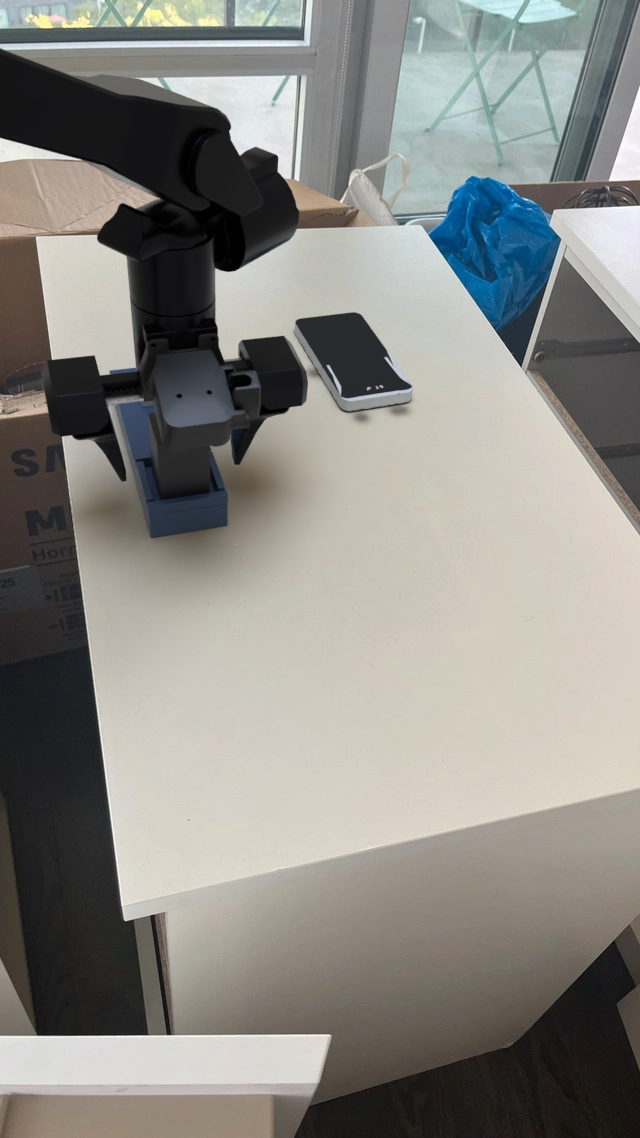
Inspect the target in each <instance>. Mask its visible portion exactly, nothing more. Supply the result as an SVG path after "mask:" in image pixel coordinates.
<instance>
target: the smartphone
mask: <svg viewBox="0 0 640 1138" xmlns="http://www.w3.org/2000/svg"><path fill="white" fill-rule="evenodd" d="M294 334H295V336H296V338H297V340H298V341H299V343H300V345H301V346H302V348H303V349H304V351H305V353H306V354H307V356H308V358H309V359H310V361H311V362H312V364H313V366H314V368H315V370H316V371H317V373H319V375H320V378H321V379H322V381H323V382H324V384H325V385H326V387H327V390H329V392H330V394H331V396H332V397H333V399H334V400H335V402H336V404H337V405H338V407H339V408H340V409H341V410H342V411H345V412H355V411H362V410H367V409H368V410H369V409H373V408H381V407H387V406H393V405H399V404H405V403H406V404H407V403H409V402H411V401H412V398H413V397H412V396H413V392H414V386H413V384H412V383H411V382H410V381H409V379H408V378H407V376H406V375H405V373H404V371H403V370H402V369H401V368H400V366H399V365H398V363H397V362H396V361H395V359H394V358H393V357H392V355H391V354H390V352H389V351H388V350H387V348H386V346H384V344H383V343H382V341H381V340H380V338H379V337H378V336H377V335H376V333H375V331H373V328H372V327H371V326H370V324H369V323H368V322H367V320H366V319H365V318H364V316H363V315H362V314H361V313H359V312H353V311H352V312H344V313H343V312H342V313H334V314H325V315H318V316H317V315H316V316H310V317H301V318H298V319H296V320H295V323H294Z"/></svg>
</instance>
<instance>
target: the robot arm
mask: <svg viewBox="0 0 640 1138" xmlns="http://www.w3.org/2000/svg"><path fill="white" fill-rule="evenodd" d="M231 129H232V124H231V121H230V119H229V117H228V116H227V114H225V113H224V112H222V110H220V109H219V108H217V107H214V106H212V105H208V104H206V103H204V102H201V101H199V100H196V99H193V98H190V97H188V96H185V95H182V94H180V93H178V92H175V91H172V90H170V89H167V88H164V87H162V86H160V85H157V84H154V83H152V82H149V81H146V80H143V79H140V78H137V77H127V76H118V75H111V74H102V73H101V74H97V75H93V76H82V75H75V74H70V73H68V72H65V71H62V70H60V69H56V68H54V67H51V66H49V65H46V64H43V63H41V62H39V61H35V60H33V59H31V58H27V57H25V56H22V55H20V54H17V53H14V52H12V51H10V50H8V49H4V48H2V47H0V139H2V140H6V141H9V142H13V143H18V144H21V145H25V146H28V147H32V148H35V149H39V150H43V151H47V152H50V153H55V154H57V155H62V156H66V157H69V158H72V159H76V160H77V159H78V160H80V161H82V162H84V163H86V164H87V165H89V166H91V167H93V168H95V169H97V170H98V171H100V172H102V173H104V174H105V175H107V176H109V177H111V178H113V179H115V180H116V181H119V182H121V183H124V184H126V185H127V186H131V187H132V188H135V189H137V190H139V191H142V192H144V193H146V194H148V195H151V196H153V197H156V198H157V199H154V200H151V201H150V202H147V203H145V204H143V205H140V206H139V207H136V208H135V207H133V206H131V205H129V204H127V203H125V202H121V203H120V204H118V206H117V208H116V212H115V213H114V215H112V216H111V217H110V218H109V219H108V220H107V221H105V222H104V223H103V225H102V226H101V228H100V229H99V231H98V233H97V235H96V240H97V242H98V243H99V244H100V245H102V246H104V247H106V248H109V249H110V250H113V251H115V252H117V253H118V254H121V255H123V256H124V257H126V268H127V276H128V277H127V280H128V291H129V301H130V302H129V303H130V314H131V326H132V338H133V350H134V361H135V363H134V364H135V368H136V372H127V373H118V374H110V373H109V374H100V370H99V367H98V363H97V358H96V355H95V354H94V355H86V356H85V355H83V356H74V357H65V358H55V359H49V360H48V359H47V360H46V361H45V363H44V364H43V365H42V367H41V368H40V375H41V380H42V385H43V391H44V396H45V397H44V398H45V402H46V407H47V413H48V418H49V424H50V430H51V433H52V434H54V435H56V436H59V437H69V436H72V438H73V439H74V440H75V441H91V442H94V443H95V444H96V446H97V447H99V449H100V450H101V452H103V454H104V455H105V457H106V459H107V461H108V462H109V464H110V465H111V467H112V469H113V470H114V471H115V473H116V475H117V477H118V478H119V480H120V482H121V483H123V482H127V481H128V480H127V470H126V465H125V462H124V458H123V454H122V451H121V447H120V443H119V439H118V436H117V433H116V429H115V426H114V422H113V418H112V415H111V412H110V409H109V407H110V406H115V405H117V404H125V403H134V402H142V401H144V402H146V401H153V405H154V409H155V414H156V418H157V422H158V426H159V431H160V437H161V441H162V444H163V445H164V447H165V448H167V449H168V450H170V451H173V452H181V451H186V450H187V449H192V448H199V447H207V446H210V447H213V448H216V447H221V446H224V445H226V444H227V443H228V442H229V441H230V448H231V458H232V461H233V464H234V466H240V465H241V463H242V462H243V460H244V458H245V456H246V454H247V452H248V449H249V448H250V446H251V445H252V442H253V440H254V438H255V436H256V434H257V433H258V431H259V429H260V428H261V426H262V425H263V424H264V422H265V421H266V420H267V419H269V418H272V417H275V416H279V415H280V416H281V415H284V414H286V413H288V411H289V410H290V408H295V407H296V408H297V407H302V406H304V404H305V403H306V402H307V399H308V398H307V397H308V387H309V380H308V374H307V370H306V369H305V367H304V365H303V362H302V361H301V359H300V357H299V355H298V353H297V351H296V349H295V348H294V345H293V344H292V342H291V341H290V339H288V338H287V337H286V336H285V335H279V336H278V335H276V336H267V337H257V338H249V339H247V338H246V339H241V340H240V341H239V342H238V345H237V347H238V349H237V352H238V353H237V355H238V357H236V358H228V359H224V356H223V354H222V352H221V348H220V338H219V327H218V324H217V322H216V321H217V320H216V318H217V317H216V316H217V315H216V312H217V311H216V309H217V308H216V305H217V303H216V302H217V301H216V270H218V271H221V272H226V273H231V272H232V273H233V272H236V271H238V270H240V269H242V268H244V267H245V266H247V265H249V264H251V263H252V262H255V261H256V260H258V259H259V258H261V257H263V256H265V255H266V254H269V253H271V252H272V251H273V250H275V249H277V248H279V247H281V246H283V245H284V244H286V243H288V242H290V240H291V239H292V238H293V237H294V236H295V233H296V232H297V230H298V227H299V221H300V209H299V208H298V206H297V202H296V201H297V200H296V198H295V195H294V193H293V190H292V189H291V187H290V185H289V183H288V181H287V180H286V179H285V178H284V176H282V174H281V173H279V156H278V155H277V154H276V153H273V152H270V151H268V150H266V149H264V148H261V147H258V146H253V147H252V148H249V149H247V150H245V151H243V152H242V153H241V154H239V151H238V149H237V148H236V147H235V144H234V142H233V141H232V140H231V139H232V137H231V132H230V131H231Z"/></svg>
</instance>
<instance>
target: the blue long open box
mask: <svg viewBox="0 0 640 1138" xmlns="http://www.w3.org/2000/svg"><path fill="white" fill-rule="evenodd" d="M127 372H136V367H130V368H129V367H128V368H119V369H111V370H109V374H118V373H127ZM114 406H115V410H116V413H117V418H118V421H119V424H120V428H121V432H122V436H123V439H124V444H125V447H126V451H127V455H128V458H129V462H130V465H131V469H132V473H133V476H134V481H135V485H136V489H137V491H138V496H139V500H140V503H141V507H142V511H143V514H144V518H145V521H146V526H147V530H148V533H149V536H150V538H151V539H152V538H159V537H165V536H171V535H178V534H183V533H188V532H195V531H202V530H207V529H213V528H220V527H226V526H228V523H229V522H228V520H229V518H228V517H229V516H228V515H229V513H228V512H229V493H228V491H227V490H226V486H225V483H224V480H223V478H222V477H223V476H222V475H221V472H220V469H219V467H218V463H217V461H216V458H215V456H214V453H213V451H212V446H210V493H205V494H198V495H191V496H185V497H178V498H172V499H165V500H160V497H159V494H158V490H157V487H156V483H155V480H154V476H153V473H152V466H151V453H150V439H149V426H148V413H152V412H155V409H154V405H153V401H146V402H144V401H142V402H134V403H125V404H117V405H114Z"/></svg>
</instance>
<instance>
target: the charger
mask: <svg viewBox="0 0 640 1138" xmlns="http://www.w3.org/2000/svg"><path fill="white" fill-rule="evenodd" d="M148 426H149V439H150V453H151V466H152V473H153V476H154V480H155V483H156V487H157V490H158V494H159V497H160V500H165V499H172V498H178V497H185V496H191V495H198V494H205V493H210V447H211V446H207V447H199V448H192V449H187V450H186V451H181V452H173V451H170V450H168V449H167V448H165V447H164V445H163V444H162V441H161V437H160V431H159V426H158V422H157V418H156V414H155V412H152V413H148Z"/></svg>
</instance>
